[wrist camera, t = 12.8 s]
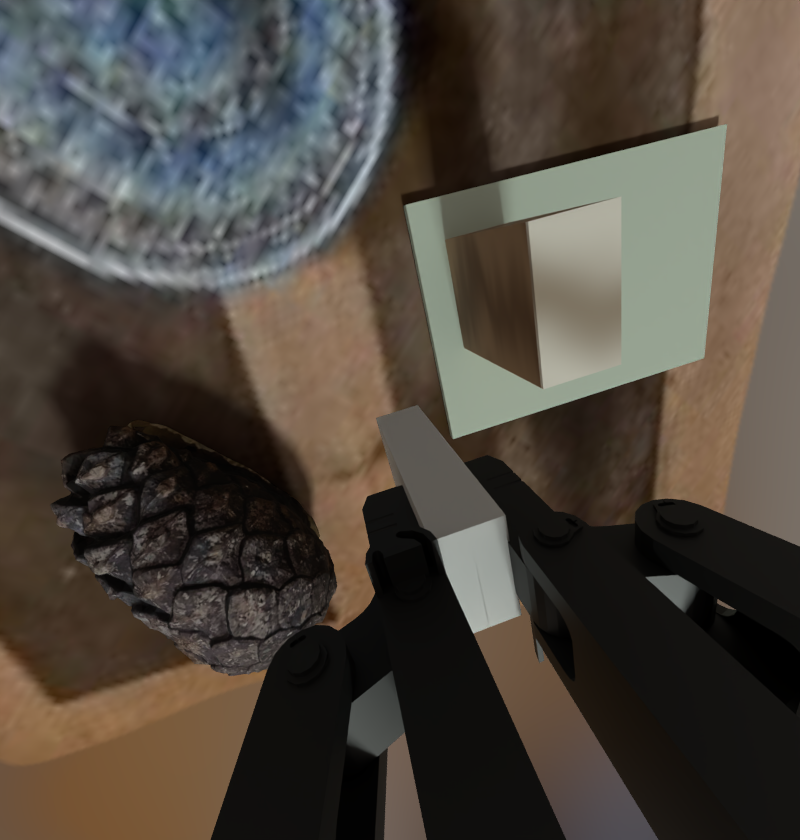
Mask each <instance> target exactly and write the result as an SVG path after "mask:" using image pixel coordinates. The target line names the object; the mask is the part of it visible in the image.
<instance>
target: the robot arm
mask: <svg viewBox="0 0 800 840" xmlns="http://www.w3.org/2000/svg"><path fill="white" fill-rule="evenodd" d="M376 420H377V423H378V427H379V430H380V433H381V437H382V440H383V444H384V447H385V451H386V454H387V457H388V461H389V464H390V468H391V471H392V475H393V478H394V481H395V485H396V487H394V488H391V489H388V490H385V491H382V492H379V493H376V494H373V495H370V496H367V499H366V501H365V504H364V506H363V509H362V511H363V515H364V520H365V524H366V530H367V534H368V539H369V544H370V548H369V550H368V551H367V553H366V561H365V565H366V568H367V571H368V574H369V576H370V579H371V582H372V584H373V587H374V590H375V595H374V597H373V599H372V601H371V603H370V604H369V605H368V607H367V608H366V609H365V610H364V612H363V613H361V614H360V615H359V616H358V617H357V618H355V619H354V620H353V621H351V622H350V623H349V624H347V625H346V626H344V627H343V628H342V629H340V630H339V631H338V630H336V629H334V628H332V627H330V626H325V625H315V626H312V627H309V628H306V629H303V630H300V631H299V632H298V633H296V634H295V635H293V636H292V637H290V638H289V639H287V640H286V642H285V643H284V644H283V645H282V646H281V647H280V648H279V649H278V651H277V652H276V653H275V655H274V657H273V659H272V661H271V663H270V665H269V667H268V670H267V673H266V676H265V679H264V681H263V684H262V687H261V690H260V694H259V697H258V700H257V702H256V705H255V709H254V711H253V715H252V717H251V720H250V723H249V726H248V729H247V732H246V735H245V738H244V741H243V744H242V747H241V750H240V753H239V756H238V759H237V762H236V765H235V768H234V772H233V774H232V777H231V780H230V783H229V786H228V789H227V792H226V795H225V798H224V801H223V804H222V807H221V810H220V813H219V816H218V819H217V822H216V825H215V828H214V831H213V834H212V837H211V840H384V825H385V824H384V823H385V800H386V776H387V750H388V747H389V746H390V745H391V744H392V743H393V742H394V741H395V740H397V739H398V738H399V737H400V736H401V735H402V734H403V733H404V732H405V735H406V740H407V744H408V749H409V754H410V759H411V764H412V769H413V774H414V779H415V784H416V789H417V794H418V799H419V803H420V808H421V812H422V818H423V823H424V828H425V833H426V838H427V840H566V838H565V836H564V834H563V832H562V829H561V827H560V825H559V823H558V821H557V818H556V816H555V814H554V812H553V809H552V807H551V805H550V803H549V801H548V798H547V796H546V794H545V792H544V789H543V787H542V785H541V783H540V781H539V779H538V776H537V774H536V772H535V770H534V767H533V765H532V763H531V761H530V759H529V756H528V754H527V752H526V749H525V747H524V745H523V743H522V741H521V739H520V736H519V734H518V732H517V730H516V727H515V725H514V723H513V721H512V718H511V716H510V714H509V712H508V710H507V707H506V705H505V703H504V701H503V698H502V696H501V694H500V692H499V690H498V688H497V686H496V683H495V681H494V679H493V676H492V674H491V672H490V670H489V667H488V665H487V663H486V661H485V659H484V656H483V654H482V652H481V650H480V647H479V645H478V643H477V641H476V639H475V636H474V634H473V633H475V632H477V631H481V630H483V629H486V628H488V627H491V626H494V625H496V624H499V623H501V622H504V621H507V620H509V619H512V618H515V617H517V616H520V615H521V609H520V603H519V599H520V600H521V602H522V604H523V605H524V607H525V608H526V610H527V611H528V613H529V615H530V619H531V626H532V633H533V639H534V646H535V652H536V655H537V658H538V660H539V662H542V661H544V656H543V651H544V652H545V654H546V656H547V658H548V659H549V661H550V662H551V664H552V665H553V667H554V669H555V671H556V672H557V674H558V675H559V677H560V679H561V680H562V682H563V684H564V685H565V687H566V689H567V690H568V692H569V693H570V695H571V697H572V698H573V700H574V702H575V703H576V705H577V707H578V708H579V710H580V712H581V713H582V715H583V717H584V718H585V720H586V721H587V723H588V725H589V726H590V728H591V730H592V731H593V733H594V734H595V736H596V738H597V739H598V741H599V743H600V744H601V746H602V748H603V749H604V751H605V753H606V754H607V756H608V757H609V759H610V761H611V762H612V764H613V766H614V767H615V769H616V771H617V772H618V774H619V776H620V777H621V779H622V780H623V782H624V784H625V785H626V787H627V789H628V790H629V792H630V794H631V795H632V797H633V798H634V800H635V802H636V803H637V805H638V807H639V808H640V810H641V812H642V813H643V815H644V817H645V818H646V820H647V822H648V823H649V825H650V826H651V828H652V830H653V831H654V833H655V835H656V836H657V838H658V839H659V840H800V546H797V545H795V544H792V543H790V542H787V541H785V540H783V539H780V538H778V537H776V536H773V535H771V534H768V533H766V532H763V531H761V530H759V529H756V528H754V527H752V526H749V525H747V524H744V523H742V522H740V521H737V520H735V519H733V518H730V517H728V516H725V515H723V514H721V513H718V512H716V511H713V510H711V509H709V508H706V507H704V506H701V505H698V504H695V503H692V502H688V501H685V500H676V499H660V500H652V501H650V502H647V503H645V504H642V505H641V506H640V507H639V509H638V510H637V511H636V513H635V524H625V525H614V526H597V527H592V526H589V525H588V524H587V523H586V522H584V521H582V520H581V519H579V518H578V517H576V516H574V515H571V514H567V513H564V512H554V511H553V510H552V509H551V508H550V507H549V506H548V505H547V504H546V503H545V502H544V501H543V500H542V499H541V498H540V497H539V496H538V495H537V494H536V493H535V492H534V491H533V490H532V489H531V488H530V487H529V486H527V485H526V484H525V483H524V482H523V481H521V479H520V478H519V477H518V476H517V475H516V474H515V473H513V471H512V470H511V469H510V468H509V467H508V466H507V465H506V464H505V463H504V462H503V461H501V460H498V459H496V458H493V457H491V456H488V455H486V456H483V457H480V458H477V459H474V460H471V461H468V462H465V463H463V461H462V460H461V459H460V458H459V456H458V455H457V454H456V453H455V451H454V450H453V449H452V448H451V446H450V445H449V444H448V443H447V441H446V440H445V439H444V438H443V436H442V435H441V434H440V433H439V431H438V430H437V429H436V428H435V426H434V425H433V424H432V423H431V421H430V420H429V419H428V418H427V417H426V415H425V414H424V413H423V412H422V410H421V409H420V408H419V407H418V405H417V406H413V407H410V408H407V409H404V410H401V411H397V412H394V413H391V414H388V415H384V416H381V417H378V418H376ZM717 599H719V600H720V601H722V602H724V603H726V604H728V605H729V606H731V607H732V608H734V609H736V610H732V609H728V608H725V607H723V606H721V605H719V604H717Z"/></svg>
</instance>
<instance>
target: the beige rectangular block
mask: <svg viewBox="0 0 800 840" xmlns="http://www.w3.org/2000/svg"><path fill="white" fill-rule="evenodd" d="M445 243H446V249H447V255H448V260H449V266H450V272H451V277H452V283H453V289H454V294H455V300H456V306H457V312H458V317H459V323H460V329H461V334H462V340H463V346H464V348H465V349H467V350H469V351H471V352H473V353H475V354H477V355H478V356H480V357H482V358H484V359H486V360H488V361H490V362H492V363H494V364H496V365H498V366H500V367H501V368H503V369H505V370H507V371H509V372H511V373H513V374H515V375H517V376H519V377H521V378H522V379H524V380H526V381H528V382H530V383H532V384H534V385H536V386H538V387H540V388H542V389H546V388H549V387H553V386H556V385H559V384H562V383H565V382H568V381H571V380H574V379H577V378H581V377H584V376H587V375H590V374H593V373H596V372H599V371H602V370H605V369H609V368H612V367H615V366H618V365H621V197H616V198H612V199H608V200H603V201H599V202H595V203H591V204H586V205H582V206H578V207H573V208H569V209H565V210H561V211H556V212H552V213H548V214H543V215H539V216H535V217H531V218H526V219H522V220H518V221H513V222H509V223H505V224H501V225H497V226H494V227H490V228H486V229H483V230H479V231H475V232H471V233H468V234H464V235H460V236H457V237H453V238H449V239H446V240H445Z"/></svg>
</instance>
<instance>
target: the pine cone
mask: <svg viewBox="0 0 800 840" xmlns="http://www.w3.org/2000/svg"><path fill="white" fill-rule="evenodd" d="M134 427H145V428H144V430H143V431H142V432H141V431H135V430H133V428H134ZM61 464H62V474H61V476H62V480H63V483H64V487H65V488H67V489H68V490H69V491H71V494H70V495H68V496H67V497H64V498H61V499H59V500H57V501H55V502H54V503H52V504H50V506H51V509H52V511H53V512H54V513H55V514H56V516H57V525H58V526H60V527H63V528H70V529H72V530H74V531H76V532H74V535H73V541H72V544H71V547H72V549H73V550H74V556H75V558H76V560H77V561H79V562H81V563H83V564H84V565H86V566H89V567H90V569H91V571H92V572H94V573H95V578H96V579H97V581H98V582H99V583H100V584H101V585H102V587H103V588H104V590H105V591H106V593H108V596H109V599H110V600H114V599H116V598H117V597H118V598H120V599H121V600H122V601H123V602H125V603H126V604H127V605H129V606H132V610H131V611H132V613H133V615H134V617H136V618H138V619H140V620H142V622H143V623H144V624H145V625H146V626H148V627H149V628H150V629H154V630H158V631H160V632H161V633H163V634H164V635H166V637H167V639H169V638H170V639H172V640H173V641H174V645H175V647H176V648H178V649H179V650H180V651H182V652H183V653H184V654H185V655H186V656H188V657H189V658H190V659H191V660H192V661H193V662H194V664H208V665H211V668H212V669H213V670H215V671H216V672H220V673H227V674H228V675H229V676H234V675H241V674H250V673H252V672H260V671H262V670H265V669H268V667H269V665H270V663H271V661H272V659H273V657H274V655H275V653H276V652H277V651H278V649H279V648H280V647H281V646H282V645H283V644H284V643H285V642H286V640H287V639H289V638H290V637H292V636H293V635H295V634H296V633H298V632H299V631H300V630H303V629H306V628H309V627H312V626H313V625H315V624H316V623H319V622H322V621H323V619H324V617H325V615H326V612H327V609H328V607H329V602H330V600H331V598H332V596H333V594H334V593H335V591H336V588H337V582H336V576H335V572H334V564H333V562H332V559H331V557H330V554H329V551H328V550H327V549H326V548H325V546H324V545H323V542H322V541H321V540H320V539H319V536H320V535H319V532H318V530H317V527H316V525H315V523H314V521H313V520H312V518H311V517H310V516H309V515H308V514H307V512H306V511H305V510H304V509H303V508H302V506H301V505H300V504H299V502H298V501H297V500H295V499H294V498H292V497H291V496H290V495H288V494H287V493H286V492H284V491H282V490H280V489H278V488H277V487H276V486H274V485H273V484H272V483H270V482H269V481H268V480H266V479H265V478H263V477H262V476H260V475H259V474H257V473H256V472H255V471H253V470H251V469H250V468H248V467H246V466H244V465H242V464H240V463H238V462H235V461H233V460H231V459H229V458H227V457H225V456H223V455H221V454H220V453H218V452H216V451H214V450H212V449H210V448H208V447H206V446H204V445H202V444H200V443H198V442H196V441H194V440H192V439H190V438H188V437H186V436H184V435H182V434H180V433H178V432H176V431H174V430H172V429H170V428H168V427H166V426H163V425H159V424H151V423H150V422H146V421H141V420H134V421H132V422H131V423H130V424H128V426H126V427H117V426H110V427H109V428H108V432H107V436H106V439H105V442H104V445H103V447H99V448H92V449H88V450H83V451H79V452H75V453H71V454H68V455H67V456H66V457H65V458H63V459H62V460H61Z"/></svg>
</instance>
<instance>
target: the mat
mask: <svg viewBox="0 0 800 840" xmlns="http://www.w3.org/2000/svg"><path fill="white" fill-rule="evenodd" d="M726 129H727V124H725V125H721V126H717V127H713V128H709V129H705V130H701V131H697V132H693V133H689V134H685V135H681V136H677V137H673V138H669V139H665V140H661V141H657V142H653V143H649V144H646V145H642V146H638V147H634V148H630V149H626V150H622V151H618V152H614V153H610V154H606V155H602V156H598V157H594V158H590V159H586V160H582V161H578V162H574V163H570V164H566V165H562V166H558V167H554V168H550V169H546V170H542V171H538V172H534V173H530V174H526V175H522V176H518V177H514V178H510V179H506V180H503V181H499V182H495V183H491V184H487V185H483V186H479V187H475V188H471V189H467V190H463V191H459V192H455V193H451V194H447V195H443V196H439V197H435V198H431V199H427V200H423V201H419V202H415V203H411V204H407V205H405V206H403V207H404V212H405V217H406V221H407V226H408V231H409V236H410V241H411V246H412V251H413V255H414V260H415V265H416V270H417V275H418V280H419V285H420V290H421V294H422V299H423V304H424V309H425V314H426V319H427V324H428V328H429V333H430V338H431V343H432V348H433V353H434V358H435V362H436V367H437V372H438V377H439V382H440V387H441V392H442V397H443V401H444V406H445V411H446V416H447V421H448V426H449V431H450V435H451V437H452V438H453V439H455V438H458V437H461V436H464V435H467V434H470V433H473V432H477V431H480V430H483V429H486V428H489V427H492V426H495V425H498V424H501V423H504V422H508V421H511V420H514V419H517V418H520V417H523V416H526V415H529V414H532V413H535V412H539V411H542V410H545V409H548V408H551V407H554V406H557V405H560V404H563V403H566V402H570V401H573V400H576V399H579V398H582V397H585V396H588V395H591V394H594V393H597V392H601V391H604V390H607V389H610V388H613V387H616V386H619V385H622V384H625V383H628V382H632V381H635V380H638V379H641V378H644V377H647V376H650V375H653V374H656V373H660V372H663V371H666V370H669V369H672V368H675V367H678V366H681V365H684V364H687V363H691V362H694V361H697V360H700V359H703V358H704V354H705V343H706V333H707V323H708V313H709V303H710V292H711V282H712V272H713V262H714V251H715V241H716V231H717V221H718V211H719V200H720V190H721V180H722V170H723V159H724V149H725V139H726ZM616 197H621V365H618V366H615V367H612V368H609V369H605V370H602V371H599V372H596V373H593V374H590V375H587V376H584V377H581V378H577V379H574V380H571V381H568V382H565V383H562V384H559V385H556V386H553V387H549V388H546V389H542V388H540V387H538V386H536V385H534V384H532V383H530V382H528V381H526V380H524V379H522V378H521V377H519V376H517V375H515V374H513V373H511V372H509V371H507V370H505V369H503V368H501V367H500V366H498V365H496V364H494V363H492V362H490V361H488V360H486V359H484V358H482V357H480V356H478V355H477V354H475V353H473V352H471V351H469V350H467V349H465V348H464V346H463V340H462V334H461V329H460V323H459V317H458V312H457V306H456V300H455V294H454V289H453V283H452V277H451V272H450V266H449V260H448V255H447V249H446V243H445V240H446V239H449V238H453V237H457V236H460V235H464V234H468V233H471V232H475V231H479V230H483V229H486V228H490V227H494V226H497V225H501V224H505V223H509V222H513V221H518V220H522V219H526V218H531V217H535V216H539V215H543V214H548V213H552V212H556V211H561V210H565V209H569V208H573V207H578V206H582V205H586V204H591V203H595V202H599V201H603V200H608V199H612V198H616Z"/></svg>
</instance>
